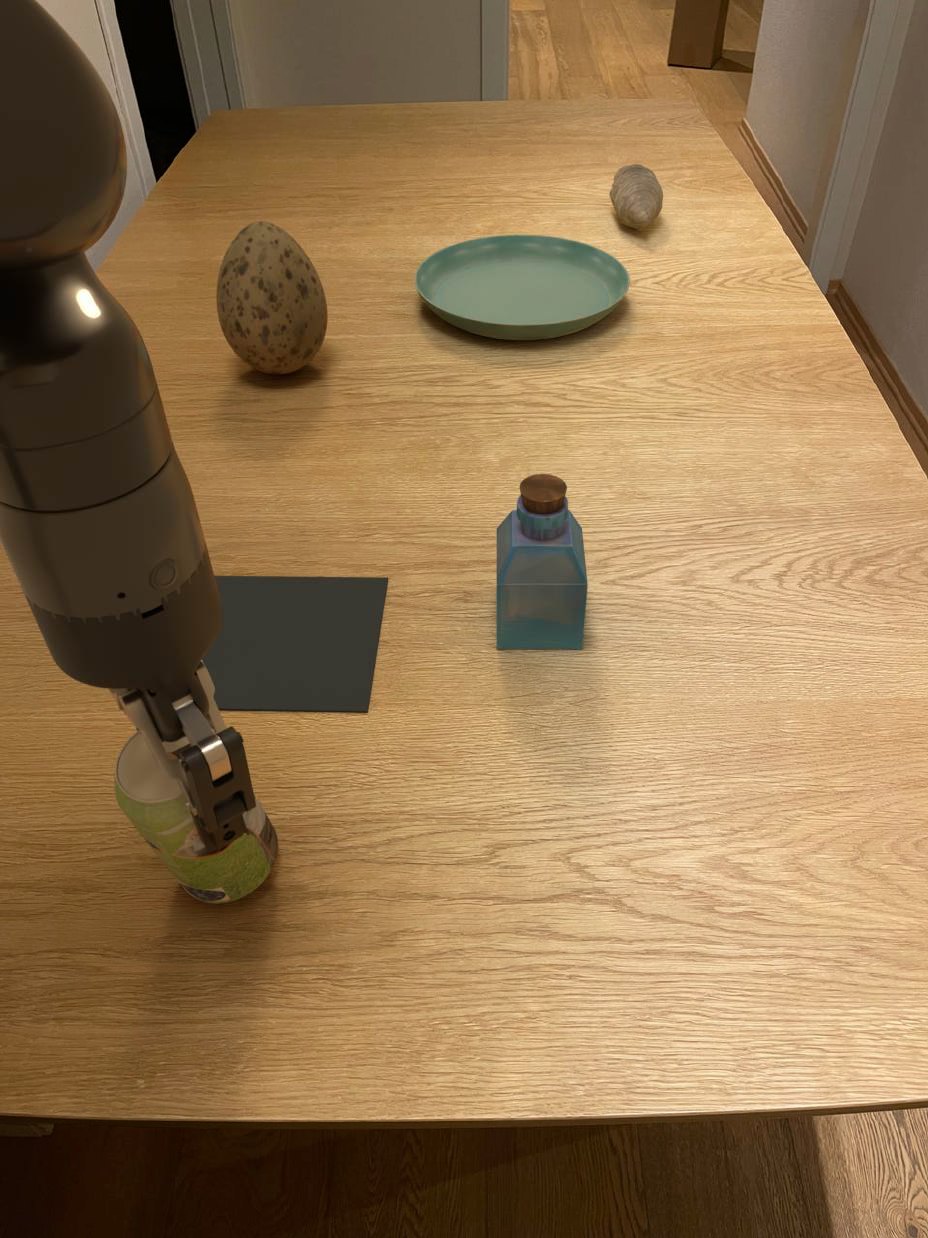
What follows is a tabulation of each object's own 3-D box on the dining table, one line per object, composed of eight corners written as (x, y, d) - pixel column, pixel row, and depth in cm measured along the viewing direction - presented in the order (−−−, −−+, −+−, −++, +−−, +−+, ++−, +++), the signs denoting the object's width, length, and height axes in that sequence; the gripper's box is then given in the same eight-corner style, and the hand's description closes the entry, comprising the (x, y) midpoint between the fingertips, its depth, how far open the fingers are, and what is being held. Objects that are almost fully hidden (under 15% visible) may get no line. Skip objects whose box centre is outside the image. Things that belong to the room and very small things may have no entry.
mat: (367, 712, 66) (367, 711, 66) (165, 709, 67) (165, 707, 67) (388, 578, 76) (388, 577, 76) (212, 577, 77) (212, 575, 77)
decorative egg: (303, 334, 107) (283, 194, 97) (353, 373, 101) (336, 227, 90) (213, 363, 103) (182, 220, 92) (259, 406, 96) (230, 256, 86)
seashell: (616, 221, 121) (631, 152, 118) (598, 225, 134) (611, 162, 131) (666, 231, 122) (682, 162, 119) (643, 233, 134) (657, 171, 132)
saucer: (608, 364, 101) (610, 334, 98) (387, 339, 106) (384, 310, 104) (641, 269, 117) (644, 241, 115) (450, 251, 123) (449, 224, 120)
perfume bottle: (577, 592, 75) (586, 460, 67) (582, 649, 70) (593, 515, 62) (496, 592, 75) (496, 461, 67) (496, 648, 70) (496, 515, 62)
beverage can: (301, 843, 58) (268, 709, 50) (229, 947, 54) (181, 817, 45) (215, 808, 60) (170, 674, 52) (139, 904, 56) (76, 774, 47)
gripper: (-32, 503, 43) (79, 747, 54) (88, 693, 34) (190, 935, 46) (129, 445, 46) (202, 687, 58) (275, 604, 38) (327, 851, 49)
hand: (196, 796), depth 52 cm, fingers closed on beverage can, 6 cm apart
